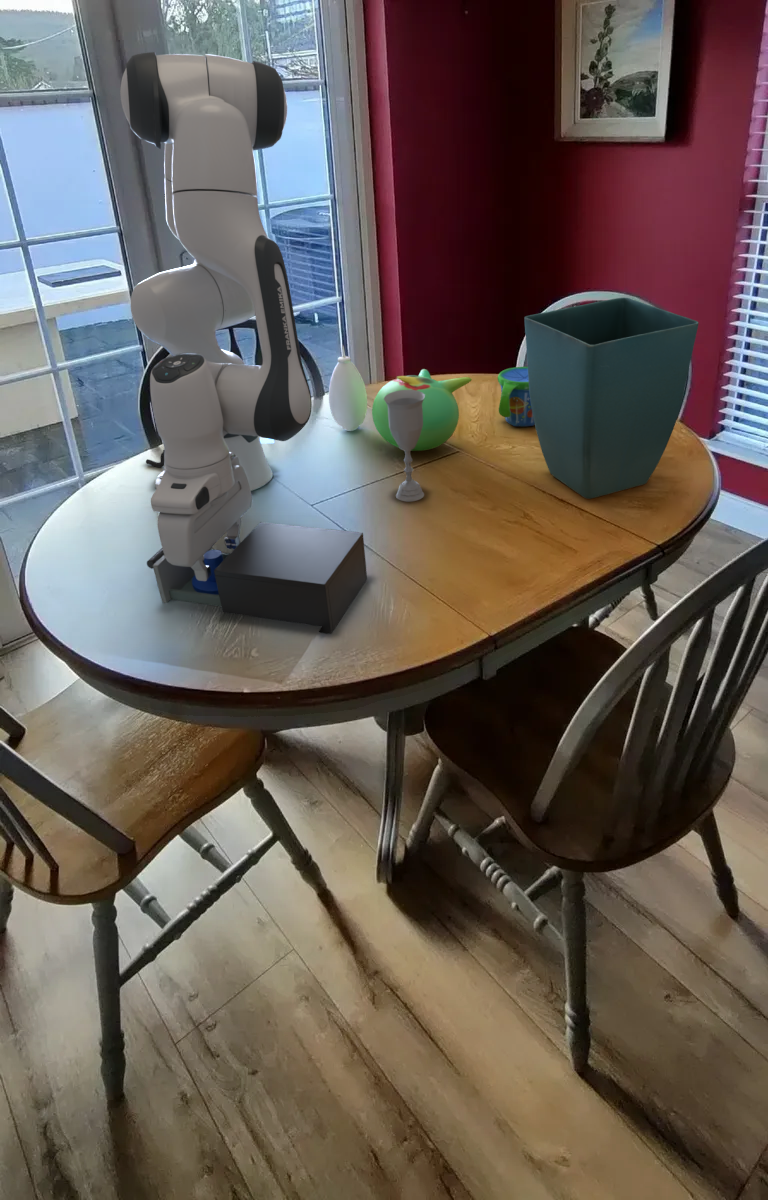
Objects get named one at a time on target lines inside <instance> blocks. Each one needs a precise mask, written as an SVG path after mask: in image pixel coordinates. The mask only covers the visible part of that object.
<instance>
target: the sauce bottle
mask: <svg viewBox="0 0 768 1200" xmlns="http://www.w3.org/2000/svg"><path fill="white" fill-rule="evenodd" d="M341 346H342V347H341V349H342V350H341V351H342V352H341V353H342V356H339V357H338V358H337V363H336V365H335V367H334V369H333V371H332V374H331V377H330V381H329V386H328V387H329V388H328V406H329V410H330V413H331V416H332V419H333V420H334V422H335V423H336V424H337V426H339V427H340V428H342V429H343V430H344V431H348V432H354V431H355V430H357V429H358V428H359V427H360V426H361V425H362V424H363V423H364V421H365V419H366V416H367V413H368V393H367V388H366V385H365V382H364V379H363V377H362V375H361V373H360V371H359V369H358V367H357V366H356V365H355V364H354V363H353V362H352V357H350V356H348V355H346V352H345V351H346V350H345V346H344V344H342V345H341Z"/></svg>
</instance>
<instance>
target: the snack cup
mask: <svg viewBox="0 0 768 1200" xmlns="http://www.w3.org/2000/svg"><path fill="white" fill-rule="evenodd" d="M497 382H498V384H499V385H500V392H501V393H500V399H499V405H498V406H499V407H498V413H499V415H500V416H501V417H503V418H504V419H505V422H506V423H508V424H510V426H513V427H519V428H520V427H522V428H523V427H524V428H525V427H535V423H534V419H533V414H532V408H531V401H530V394H529V380H528V366H515V367H509V368H506V369H504V370H502V371H500V372H499V373H498V375H497Z"/></svg>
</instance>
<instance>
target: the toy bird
mask: <svg viewBox="0 0 768 1200" xmlns="http://www.w3.org/2000/svg"><path fill="white" fill-rule="evenodd" d="M471 381H472V378H471V377H468V376H463V377H456V378H449V379H443V380H437V379H434V378H432V377H431V373H430V371H429V370H428V369H425V368H422V369H421V370H420V372H419V374H418V375H416V374H409V375H398V376H396V378H395V379H392V380H390V381H389V382H387V383H386V384H385V385H383V386H382V387H381V388H380V389H379V391H378V392H377V394H376V395H375V398H374V400H373V403H372V408H371V416H372V421H373V424H374V427H375V429H376V431H377V433H378V434H379V435H380V436H381V437H382V439H384V440H385V441H386V442H387V443H389V444H390V445H392V446H394V447H397V448H399V446H398V445H397V443H396V441H395V439H394V438H393V435H392V433H391V431H390V428H389V420H388V405H387V404H386V402H385V400H384V397H385V396H386V395H388V394H390V393H392V392H395V391H400V390H416V391H420V392H422V393H423V394H424V395H425V398H424V400H423V402H422V410H423V427H422V430H421V434H420V437H419V439H418V442H417V444H416V446H415V448H414V449H412V450H411V451H413V452H421V451H422V452H425V451H428V450H429V451H430V450H433V449H435V448H437V447H440V446H441V445H443V444H445V443H446V442H447V441H448V440H449V439H450V438H451V437H452V435H453V434H454V433H455V432H456V431H455V430H456V429H457V427H458V424H459V419H460V410H459V405H458V402H457V399H456V397H455V396H454V394H453V393H454V392H456V391H457V390H459V389H460V388H462V387H464V386H466V385H468V384H469V383H471ZM399 449H400V448H399ZM411 451H410V452H411Z"/></svg>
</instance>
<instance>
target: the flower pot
mask: <svg viewBox="0 0 768 1200" xmlns="http://www.w3.org/2000/svg"><path fill="white" fill-rule="evenodd" d="M523 318H524V333H525V345H526V348H525V349H526V361H527V367H528V380H529V394H530V401H531V408H532V414H533V419H534V423H535V425H534V427H535V431H536V435H537V440H538V443H539V446H540V449H541V453H542V456H543V458H544V461H545V464H546V466H547V467H546V468H547V469H548V471H549V473H550V475H551V476H553V477H554V478H555V479H557V480H558V481H559V482H561V483H563V484H564V485H566V487H569V488H570V489H571V490H573V491H574V492H576V493H577V494H578V495H580V496H581V497H583V498H584V499H586V500H590V499H595V498H599V497H603V496H607V495H609V494H614V493H617V492H621V491H626V490H628V489H632V488H636V487H639V486H643V485H646V484H647V483H648V481H649V480H650V478H651V477H652V475H653V473H654V472H655V470H656V468H657V467H658V465H659V462H660V461H661V459H662V457H663V455H664V452H665V450H666V448H667V445H668V443H669V441H670V439H671V437H672V433H673V431H674V429H675V426H676V423H677V420H678V417H679V414H680V411H681V407H682V403H683V399H684V395H685V390H686V389H685V388H686V385H687V379H688V374H689V370H690V366H691V361H692V358H693V357H692V356H693V351H694V346H695V343H696V338H697V334H698V333H697V332H698V330H699V329H698V328H699V325H700V323H699V321H698V320H695V319H692V318H689V317H687V316H683V315H680V314H677V313H675V312H671V311H668V310H665V309H662V308H658V307H656V306H653V305H650V304H647V303H644V302H641V301H638V300H635V299H632V298H629V297H616V298H611V299H606V300H599V301H595V302H590V303H585V304H580V305H573V306H570V307H565V308H560V309H555V310H550V311H545V312H540V313H535V314H530V315H526V316H524V317H523Z"/></svg>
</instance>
